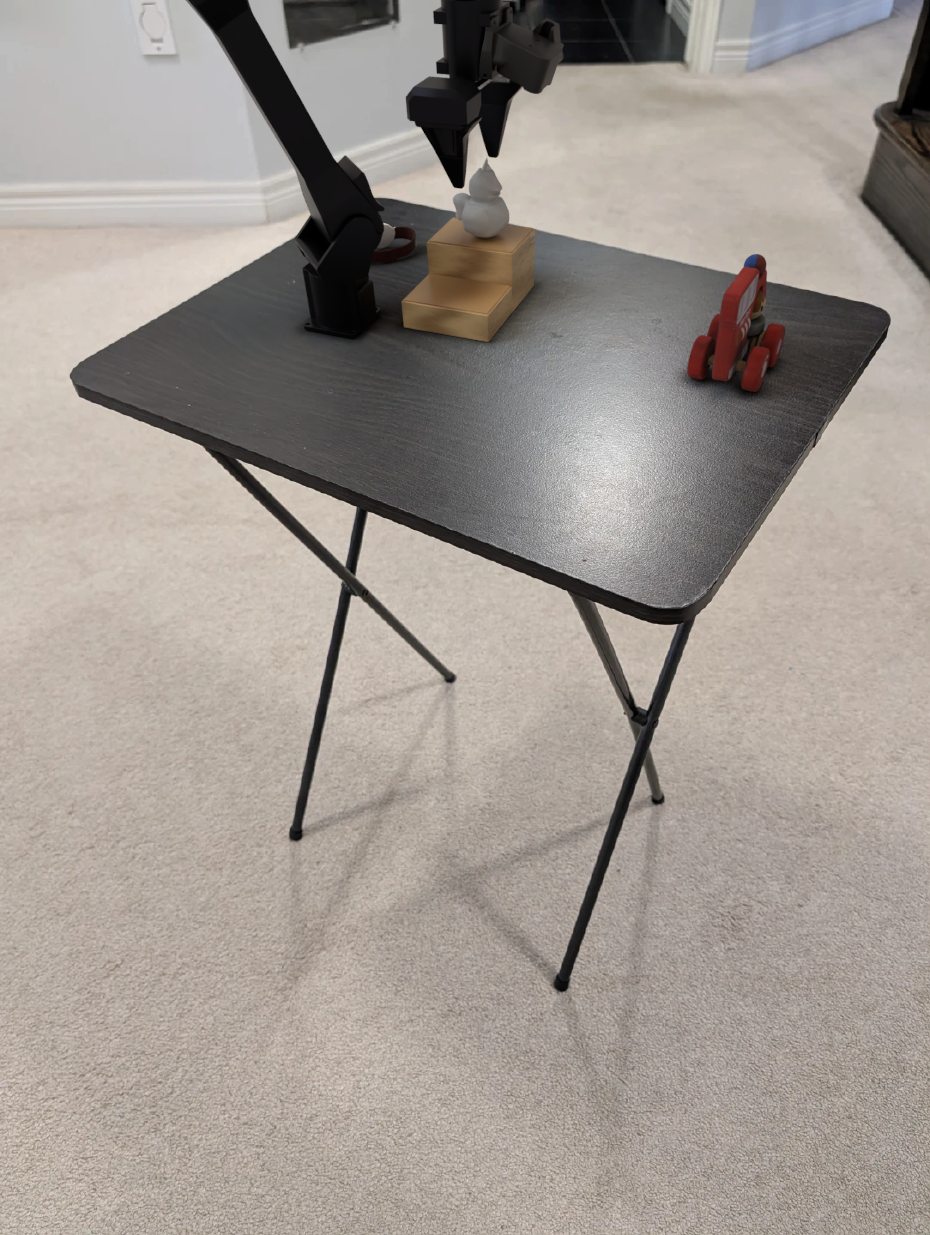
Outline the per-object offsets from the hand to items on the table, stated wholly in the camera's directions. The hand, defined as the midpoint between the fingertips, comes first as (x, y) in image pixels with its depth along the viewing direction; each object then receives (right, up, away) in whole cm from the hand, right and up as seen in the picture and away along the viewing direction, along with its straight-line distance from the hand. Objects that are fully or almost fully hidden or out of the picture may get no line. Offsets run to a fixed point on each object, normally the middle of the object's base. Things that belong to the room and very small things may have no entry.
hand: (476, 172), depth 93 cm
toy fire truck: (+25, -22, -5) cm, 34 cm away
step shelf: (-1, -12, +6) cm, 13 cm away
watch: (-11, -2, +17) cm, 20 cm away
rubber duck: (+1, -5, +4) cm, 6 cm away
